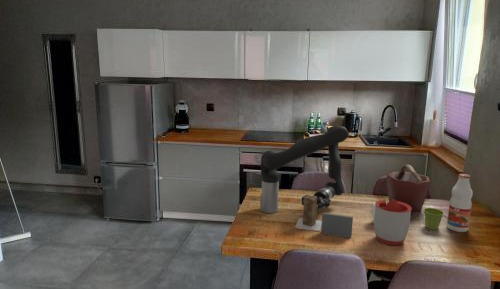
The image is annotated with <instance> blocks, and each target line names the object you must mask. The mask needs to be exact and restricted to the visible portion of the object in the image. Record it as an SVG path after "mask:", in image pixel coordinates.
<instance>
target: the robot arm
mask: <svg viewBox="0 0 500 289" xmlns="http://www.w3.org/2000/svg"><path fill="white" fill-rule="evenodd" d="M348 136H349V131H348V129H347V128H346V127H345V126H343V125H342V126H341V125H331V126H330V127H329V128H328V129H327V132H325V133H322V134H317V135H312V136H308V137H305V138H302V139H300V140H298V141H296V142H295V143H293V145H291V146H290V147H289V148H287V149H285V150H282V151H279V152H275V151H272V150H266V151H264V152H263V154H262V155H261V158H260V176H261V193H260V204H259V211H260V212H262V213H266V214H275V213H277V212H278V210H279V189H280V188H279V186H280V184H279V182H280V176H279V174H278V169H280V168H283V167H284V166H286V165H288V164H289V163H292V162H294V161H297V160H299V159H302V158H304V157H307V156H310V155H312V154H314V153H317V152H319V151H320V150H323V149H325V148H328V149H327V150H328V175H327V176H328V177H329V179H333V180H334V181H335V182H332V181H328V182H326V183H325V185H324V187H323V188H321V189H319V190H317V191H316V192H315V193H313V195H312V196H315V197H317V210H320V209H323V208H326V209H327V208H329V207H330V206H331V203H332V199H333V198H334V197H335V196H338V197H340V196H342V195H343V193H344V190H345V188H344V185H343V179H342V160H341V155H340V152H339V144H340V143H342V142H345V141H346V140H347V139H348ZM307 195H308V194H306V195H303V196H302V197H301V206H304V197H306V196H307Z"/></svg>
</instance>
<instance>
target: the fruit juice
mask: <svg viewBox="0 0 500 289" xmlns="http://www.w3.org/2000/svg"><path fill="white" fill-rule="evenodd" d="M470 178H471V175H470V174H467V173H459V174H458V179H457V182H456V183H455V185H454V186H453V187H452V189H451V198H450V200H449V206H448V213H447V219H446V220H447V222H446V226H447V227H446V228H448V229H449V230H451V231H454V232H458V233H466V232H468V231H469V227H470V226H469V225H470V220H471V211H472V198H473V195H474V192H473V190H472V187H471V183H470Z"/></svg>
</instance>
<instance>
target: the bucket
mask: <svg viewBox="0 0 500 289" xmlns="http://www.w3.org/2000/svg"><path fill="white" fill-rule="evenodd" d="M407 169H408V171H406V170H407ZM430 183H431V180H430V179H429V176H426V175H424V174H420V173H417V172H416V170H415V169H414V167H413V166H412V165H410V164H402V166H401V167H400V171H393V172H390V173H388V174H386V186H387V196H388V202H389V201H391V200H392V199H395V200H396V201H400V202H403V203H406V204H408V205H410V206H411V208H412V210H411V214H415V213H421V212H422V209H423V206H424V204H425V200H426V198H427V196H428V195H427V194H428V192H429V189H430Z"/></svg>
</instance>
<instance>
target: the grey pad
mask: <svg viewBox="0 0 500 289" xmlns="http://www.w3.org/2000/svg"><path fill="white" fill-rule="evenodd" d="M294 228H295V229H301V230H307V231H314V232H320V233H321V228H322V220H317V219H316V224H314V225H313V226H312V227H311V226H307V225H303V217H299V219H298V220H297V222H296V224H295V226H294Z"/></svg>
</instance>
